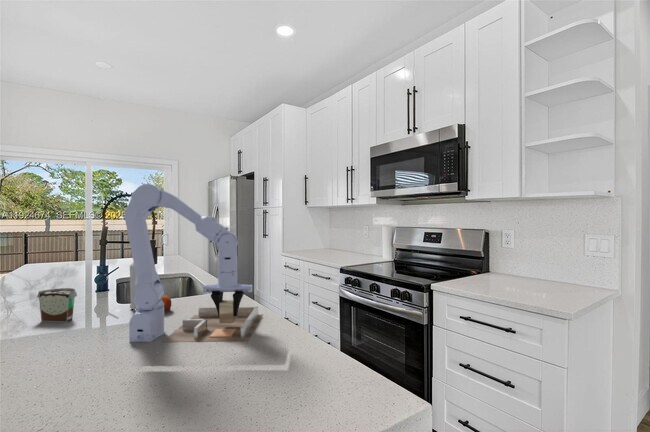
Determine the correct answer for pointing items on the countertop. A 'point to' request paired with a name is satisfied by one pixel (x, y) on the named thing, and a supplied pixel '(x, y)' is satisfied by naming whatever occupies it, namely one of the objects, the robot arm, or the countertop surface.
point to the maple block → (226, 311)
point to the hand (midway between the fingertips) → (228, 315)
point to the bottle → (132, 285)
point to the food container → (57, 304)
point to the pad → (223, 333)
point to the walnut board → (212, 325)
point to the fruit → (166, 303)
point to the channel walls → (201, 324)
